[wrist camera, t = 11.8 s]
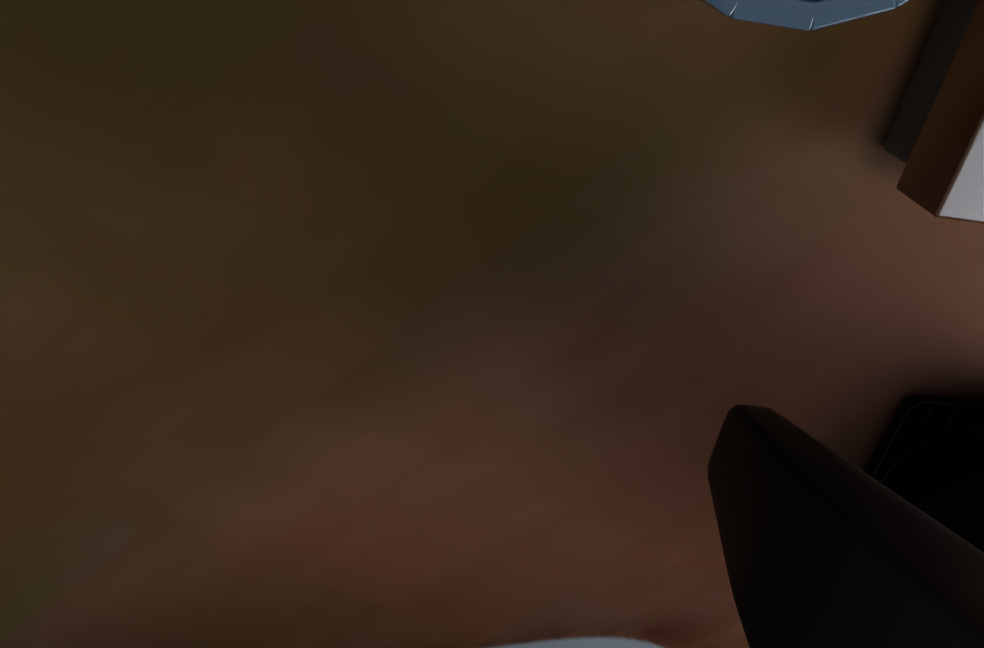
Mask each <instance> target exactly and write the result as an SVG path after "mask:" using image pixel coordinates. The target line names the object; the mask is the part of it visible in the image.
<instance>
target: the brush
mask: <svg viewBox="0 0 984 648" xmlns="http://www.w3.org/2000/svg"><path fill="white" fill-rule="evenodd" d="M884 149H885V150H886V151H888V152H889V153H891V154H892V155H894V156H895V157H897V158H898V159H900V160H901V161H903V162H904V163H906V166H905V168H904V170H903V173H902V175H901V177H900V179H899V182H898V184H897V189H898V190H899V191H901V192H902V193H903V194H905V195H906V196H908V197H909V198H910V199H912V200H913V201H915V202H916V203H917V204H919V205H920V206H921V207H923V208H924V209H926V210H927V211H928V212H930V213H931V214H933V215H934V216H935V217H940V218H948V219H955V220H963V221H971V222H979V223H984V0H945V2H944V4H943V7H942V9H941V11H940V14H939V16H938V18H937V21H936V23H935V26H934V28H933V30H932V33H931V35H930V37H929V40H928V42H927V45H926V47H925V49H924V52H923V54H922V56H921V59H920V61H919V64H918V66H917V68H916V71H915V73H914V75H913V78H912V80H911V82H910V85H909V87H908V90H907V92H906V94H905V97H904V99H903V101H902V104H901V106H900V109H899V111H898V113H897V116H896V118H895V120H894V123H893V125H892V128H891V130H890V132H889V135H888V137H887V139H886V142H885V144H884Z"/></svg>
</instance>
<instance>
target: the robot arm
mask: <svg viewBox="0 0 984 648" xmlns="http://www.w3.org/2000/svg"><path fill="white" fill-rule="evenodd" d="M919 409H920V410H919ZM917 410H919V411H918V412H916V411H917ZM915 412H916V413H915ZM708 479H709V485H710V490H711V494H712V499H713V504H714V509H715V514H716V518H717V523H718V528H719V533H720V537H721V542H722V547H723V552H724V557H725V561H726V566H727V571H728V576H729V580H730V584H731V588H732V592H733V596H734V600H735V603H736V606H737V610H738V613H739V616H740V619H741V622H742V625H743V629H744V632H745V635H746V638H747V641H748V644H749V647H750V648H984V399H980V400H974V399H964V398H953V397H942V396H932V395H913V396H911V397H908V398H907V399H905V400H904V401H903V402H902V403H901V405H900V406H899V408H898V410H897V412H896V414H895V416H894V417H893V419H892V421H891V423H890V425H889V427H888V429H887V431H886V433H885V435H884V437H883V439H882V440H881V442H880V444H879V446H878V448H877V450H876V452H875V454H874V456H873V458H872V460H871V462H870V464H869V465H868V467H867V469H866V471H865V472H864V471H862V470H861V469H859V468H858V467H856V466H855V465H853V464H852V463H851V462H849V461H848V460H846V459H845V458H843V457H842V456H840V455H839V454H837V453H836V452H834V451H833V450H831V449H830V448H828V447H827V446H825V445H824V444H822V443H821V442H820V441H818V440H817V439H815V438H814V437H812V436H811V435H809V434H808V433H806V432H805V431H803V430H802V429H800V428H799V427H797V426H796V425H794V424H793V423H791V422H790V421H789V420H787V419H786V418H784V417H783V416H781V415H780V414H778V413H777V412H775V411H774V410H772V409H770V408H768V407H763V406H751V405H736V406H734V407H732V408H731V409H730V410H729V411H728V413H727V415H726V417H725V420H724V423H723V425H722V428H721V430H720V433H719V436H718V438H717V441H716V443H715V446H714V449H713V451H712V454H711V456H710V460H709V465H708Z"/></svg>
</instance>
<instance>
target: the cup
mask: <svg viewBox="0 0 984 648" xmlns="http://www.w3.org/2000/svg"><path fill="white" fill-rule="evenodd" d="M698 1H700V2H702V3H703V4H705V5H707V6H709V7H711V8H712V9H714V10H716V11H718V12H720V13H721V14H723V15H725V16H728V17H730V18H732V19H737V20H743V21H749V22H755V23H761V24H767V25H774V26H780V27H786V28H792V29H798V30H804V31H808V30H817V29H821V28H825V27H829V26H832V25H836V24H840V23H844V22H848V21H852V20H856V19H859V18H863V17H867V16H871V15H875V14H879V13H883V12H886V11H890V10H893V9H895V8H897V7H900V6H901V5H903V4H904V3H906V2H907V1H909V0H698Z"/></svg>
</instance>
